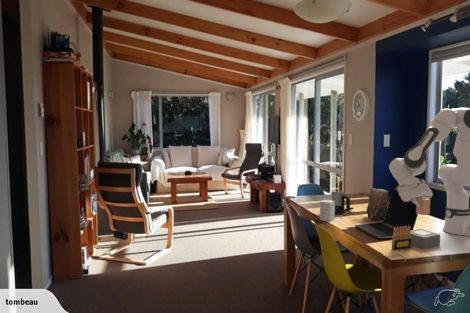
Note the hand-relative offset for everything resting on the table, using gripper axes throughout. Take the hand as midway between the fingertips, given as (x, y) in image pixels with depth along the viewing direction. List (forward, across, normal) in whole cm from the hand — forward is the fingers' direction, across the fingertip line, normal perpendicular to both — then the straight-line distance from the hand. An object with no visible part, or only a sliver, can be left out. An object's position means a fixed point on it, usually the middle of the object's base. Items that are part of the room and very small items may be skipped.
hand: (424, 205), depth 206 cm
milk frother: (-38, +10, +68) cm, 79 cm away
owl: (-20, +16, +50) cm, 57 cm away
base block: (+14, 0, +15) cm, 21 cm away
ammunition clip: (+14, -15, +15) cm, 26 cm away
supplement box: (-30, -12, +60) cm, 68 cm away
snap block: (+3, 0, +4) cm, 4 cm away
